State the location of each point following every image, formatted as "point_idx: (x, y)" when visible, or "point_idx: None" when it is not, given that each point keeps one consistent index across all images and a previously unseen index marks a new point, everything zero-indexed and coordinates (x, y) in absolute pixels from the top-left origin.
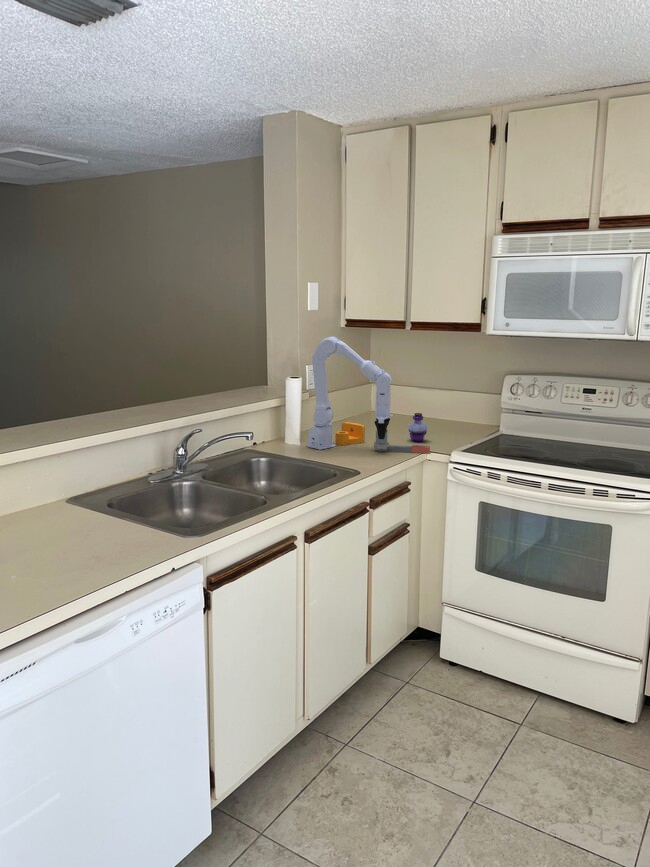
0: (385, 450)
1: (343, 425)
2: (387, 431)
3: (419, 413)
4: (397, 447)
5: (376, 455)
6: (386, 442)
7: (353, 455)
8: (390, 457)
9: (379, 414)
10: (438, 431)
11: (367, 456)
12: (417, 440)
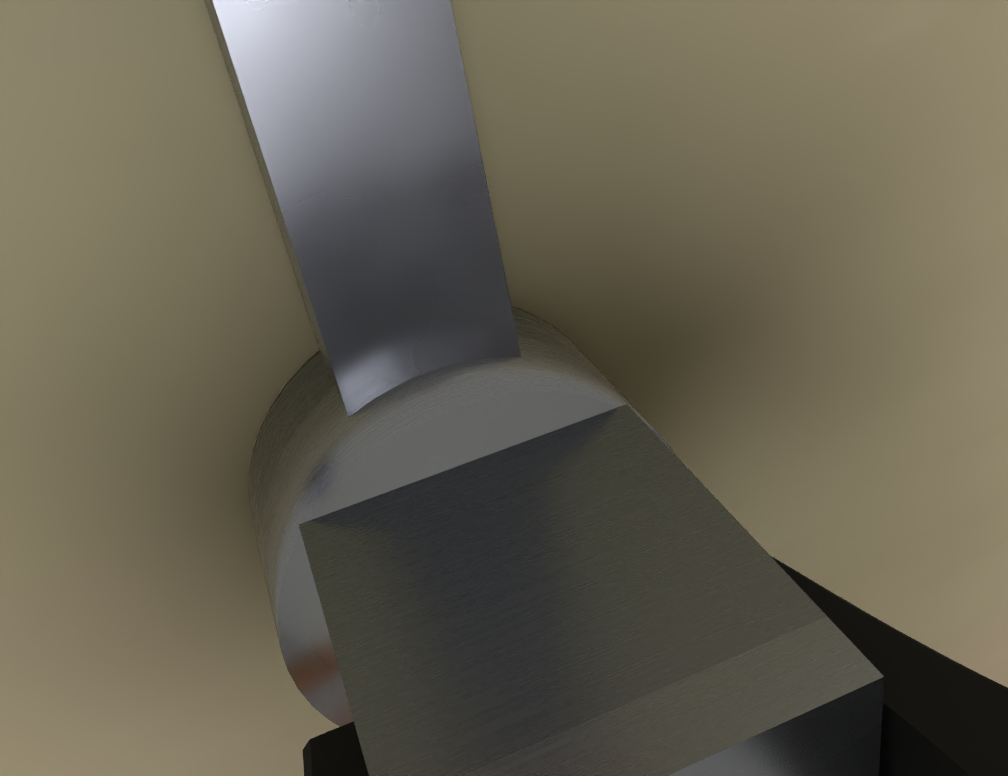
0: (571, 346)
1: None
2: (657, 754)
3: None
4: (461, 80)
5: (882, 362)
6: (653, 442)
7: (935, 641)
8: (997, 36)
9: None
10: None
11: (968, 457)
12: None
